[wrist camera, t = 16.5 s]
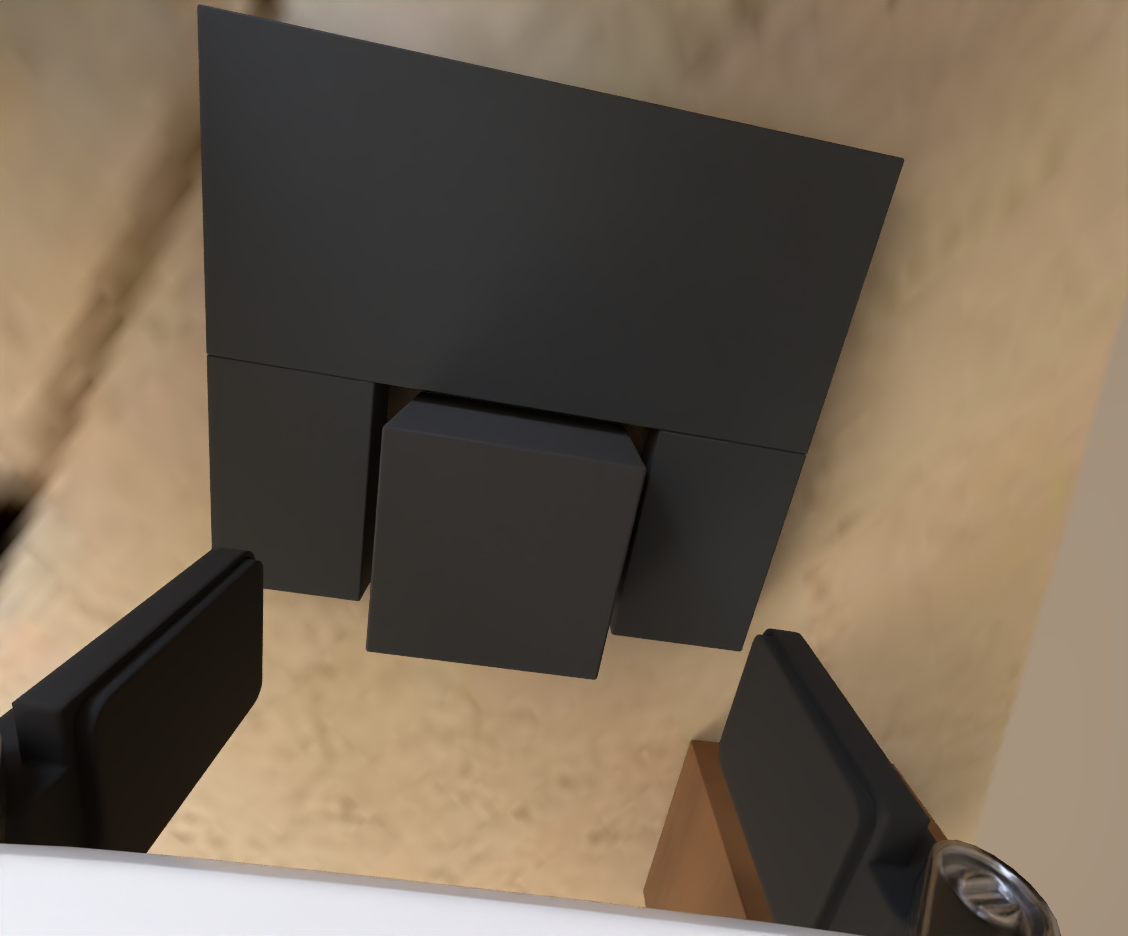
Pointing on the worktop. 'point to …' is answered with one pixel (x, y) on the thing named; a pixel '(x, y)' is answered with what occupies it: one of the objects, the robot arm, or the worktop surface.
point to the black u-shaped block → (514, 299)
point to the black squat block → (500, 535)
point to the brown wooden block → (710, 847)
